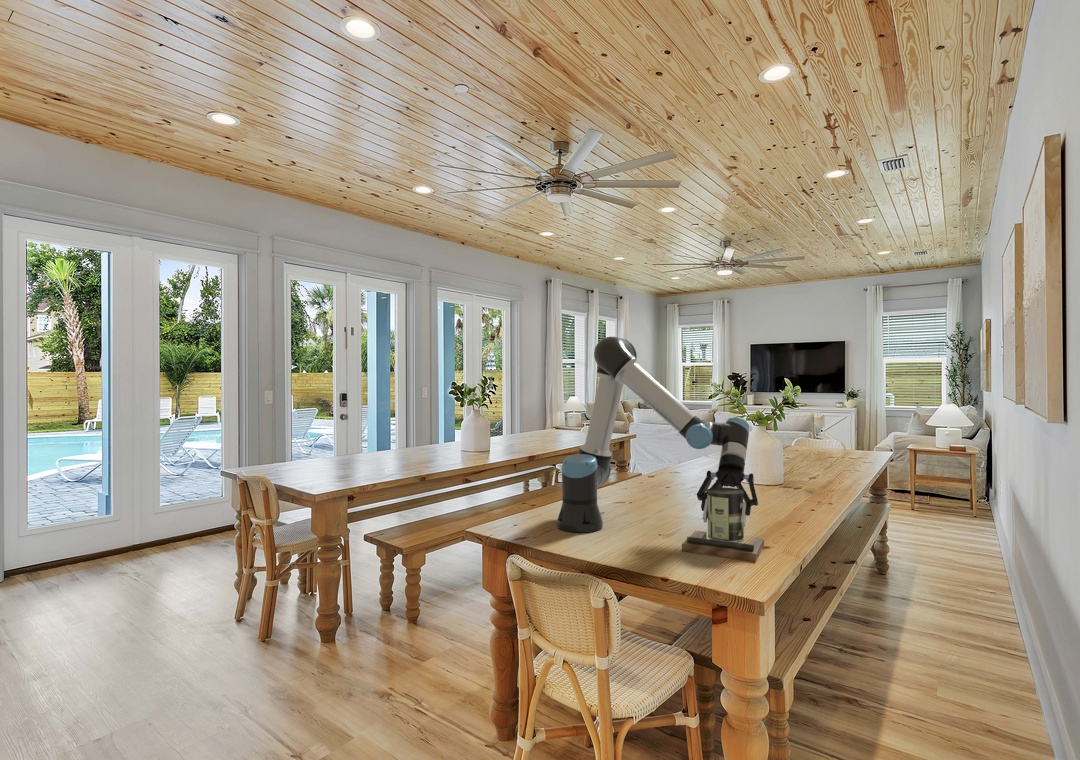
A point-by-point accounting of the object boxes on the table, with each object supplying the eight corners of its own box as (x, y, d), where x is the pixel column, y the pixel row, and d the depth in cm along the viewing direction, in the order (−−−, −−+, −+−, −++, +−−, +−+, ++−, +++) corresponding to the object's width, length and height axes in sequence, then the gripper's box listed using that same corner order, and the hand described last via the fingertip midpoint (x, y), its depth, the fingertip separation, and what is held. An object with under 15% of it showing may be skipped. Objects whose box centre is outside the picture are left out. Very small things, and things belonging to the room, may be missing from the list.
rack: (682, 551, 162) (681, 538, 162) (695, 536, 176) (695, 525, 176) (756, 561, 152) (756, 547, 152) (763, 545, 166) (763, 533, 166)
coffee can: (741, 534, 170) (740, 487, 170) (746, 544, 160) (746, 494, 160) (705, 532, 172) (705, 486, 172) (708, 542, 162) (708, 493, 162)
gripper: (772, 469, 174) (766, 533, 160) (698, 465, 185) (686, 524, 171) (770, 454, 169) (763, 519, 156) (694, 451, 180) (682, 510, 166)
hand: (723, 522), depth 163 cm, fingers closed on coffee can, 10 cm apart
